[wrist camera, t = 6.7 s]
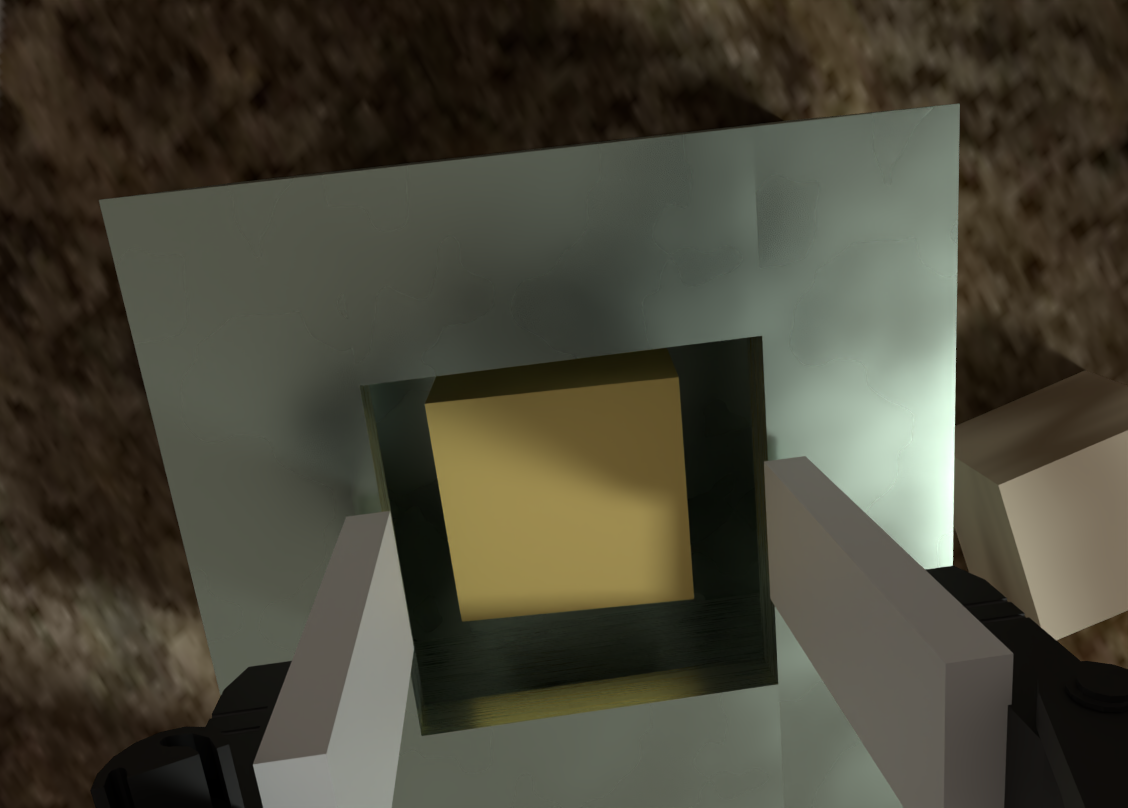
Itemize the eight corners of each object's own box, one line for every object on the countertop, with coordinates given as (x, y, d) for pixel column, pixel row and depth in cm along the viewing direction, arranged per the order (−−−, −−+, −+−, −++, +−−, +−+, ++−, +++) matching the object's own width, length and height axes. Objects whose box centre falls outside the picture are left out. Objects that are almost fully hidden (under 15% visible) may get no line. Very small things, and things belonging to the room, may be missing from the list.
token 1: (657, 325, 21) (678, 377, 18) (672, 514, 23) (694, 599, 19) (448, 347, 21) (424, 403, 18) (477, 534, 23) (462, 621, 19)
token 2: (1082, 369, 26) (1184, 405, 23) (1119, 513, 28) (1221, 570, 24) (923, 436, 26) (998, 485, 23) (968, 576, 28) (1046, 644, 24)
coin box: (784, 121, 24) (959, 103, 15) (802, 599, 27) (948, 806, 19) (244, 181, 23) (98, 199, 14) (341, 664, 27) (273, 909, 18)
